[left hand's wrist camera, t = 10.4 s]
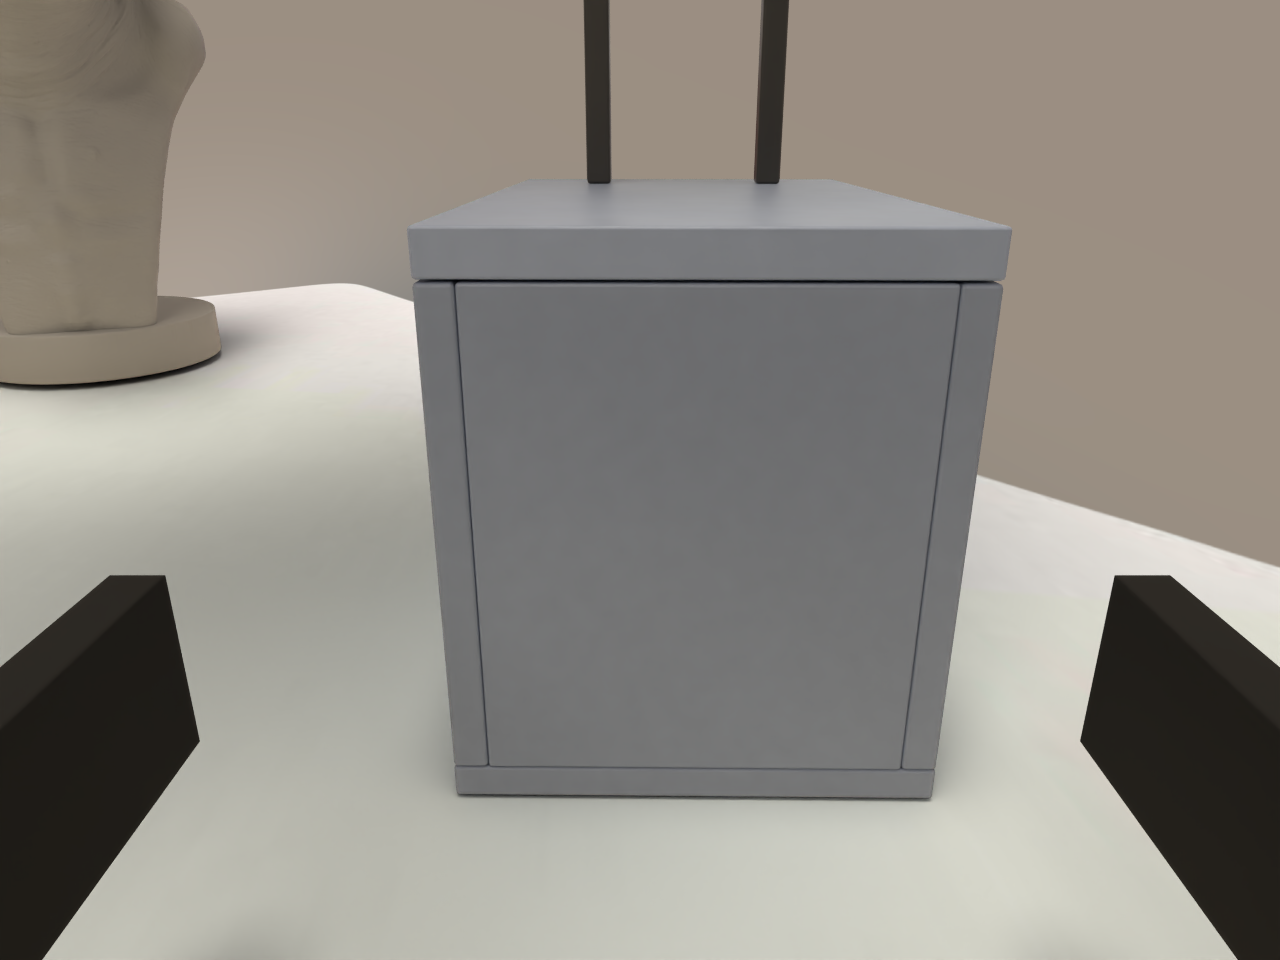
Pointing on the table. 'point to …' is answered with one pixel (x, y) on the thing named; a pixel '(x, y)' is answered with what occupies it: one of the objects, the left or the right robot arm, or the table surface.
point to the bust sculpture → (91, 190)
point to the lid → (701, 212)
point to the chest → (701, 528)
